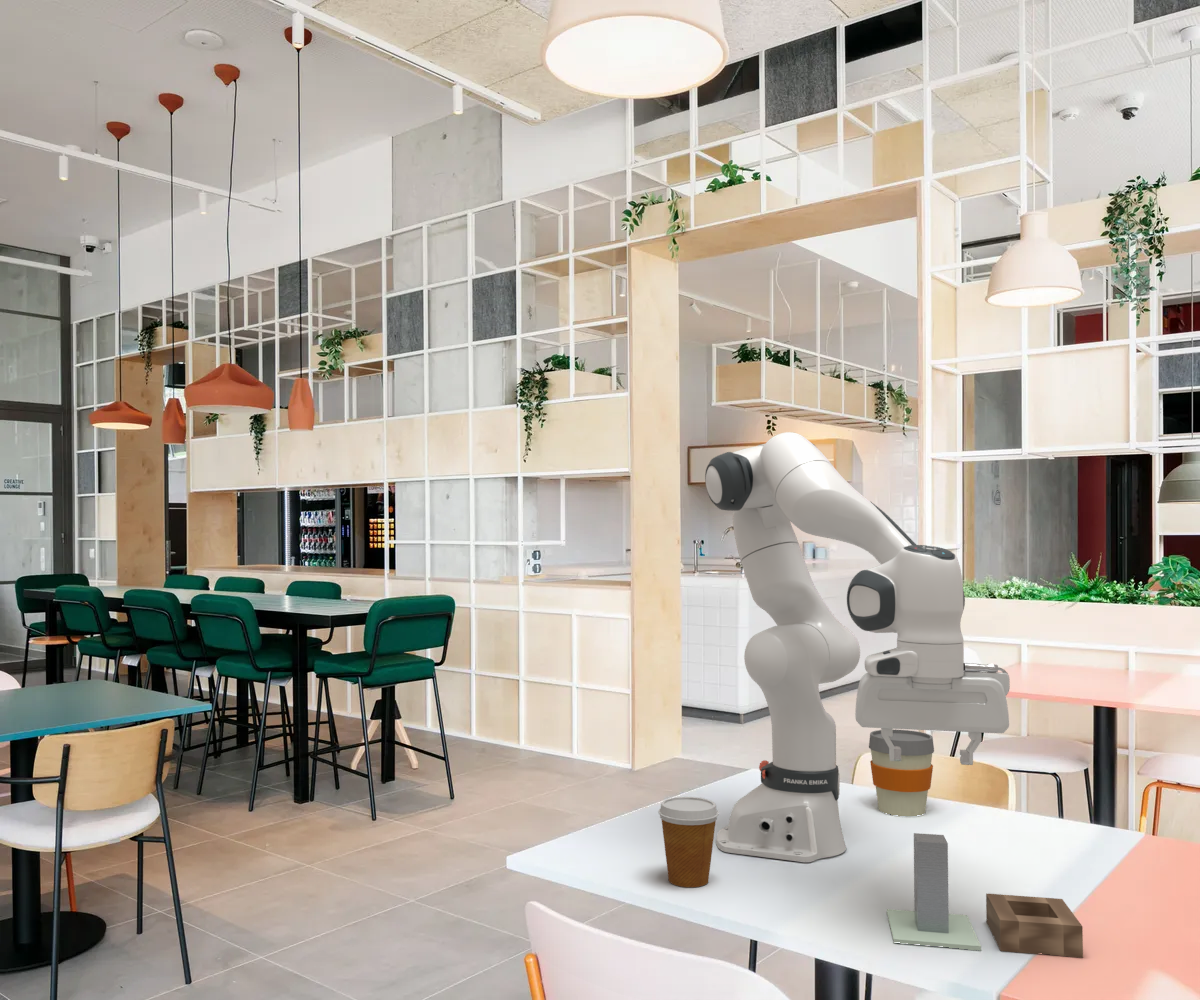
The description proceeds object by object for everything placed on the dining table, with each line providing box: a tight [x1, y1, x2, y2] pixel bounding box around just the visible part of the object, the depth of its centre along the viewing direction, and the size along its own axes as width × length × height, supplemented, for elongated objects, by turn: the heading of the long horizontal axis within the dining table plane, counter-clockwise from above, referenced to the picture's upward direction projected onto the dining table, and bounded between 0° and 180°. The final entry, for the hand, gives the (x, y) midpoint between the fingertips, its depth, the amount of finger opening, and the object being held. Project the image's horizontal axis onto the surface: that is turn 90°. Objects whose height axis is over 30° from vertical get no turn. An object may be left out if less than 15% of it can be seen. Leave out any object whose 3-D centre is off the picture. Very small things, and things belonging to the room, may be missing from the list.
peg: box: [913, 832, 950, 933], centre depth 135 cm, size 4×4×12 cm
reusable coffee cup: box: [868, 729, 935, 817], centre depth 196 cm, size 13×12×15 cm
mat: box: [886, 908, 982, 952], centre depth 135 cm, size 11×11×1 cm
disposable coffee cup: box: [657, 796, 720, 888], centre depth 155 cm, size 10×10×12 cm
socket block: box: [985, 893, 1084, 959], centre depth 132 cm, size 10×10×4 cm
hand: (930, 762), depth 136 cm, fingers open, 8 cm apart
